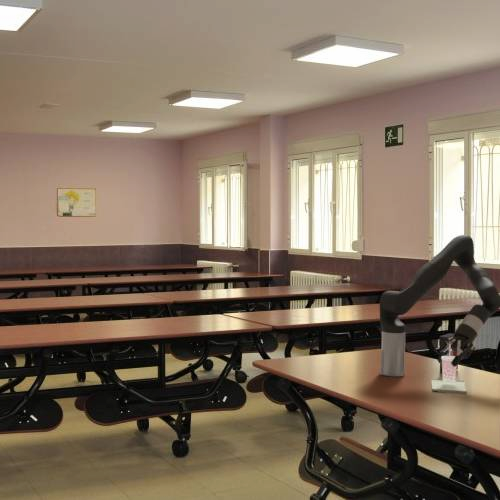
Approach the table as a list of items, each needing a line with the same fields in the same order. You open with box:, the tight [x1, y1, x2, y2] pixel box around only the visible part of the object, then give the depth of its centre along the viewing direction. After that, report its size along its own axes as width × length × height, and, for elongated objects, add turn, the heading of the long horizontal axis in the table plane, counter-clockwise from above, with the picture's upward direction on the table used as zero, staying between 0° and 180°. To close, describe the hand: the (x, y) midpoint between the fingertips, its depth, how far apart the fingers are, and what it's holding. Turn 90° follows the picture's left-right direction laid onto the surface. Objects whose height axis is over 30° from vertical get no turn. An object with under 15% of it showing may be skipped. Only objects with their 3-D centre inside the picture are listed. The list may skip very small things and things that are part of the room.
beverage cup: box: [441, 344, 457, 383], centre depth 271 cm, size 6×6×14 cm
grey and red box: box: [438, 332, 459, 374], centre depth 297 cm, size 11×4×15 cm, turn 143°
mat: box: [431, 378, 467, 395], centre depth 270 cm, size 12×18×1 cm, turn 167°
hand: (446, 363), depth 270 cm, fingers closed on beverage cup, 6 cm apart
